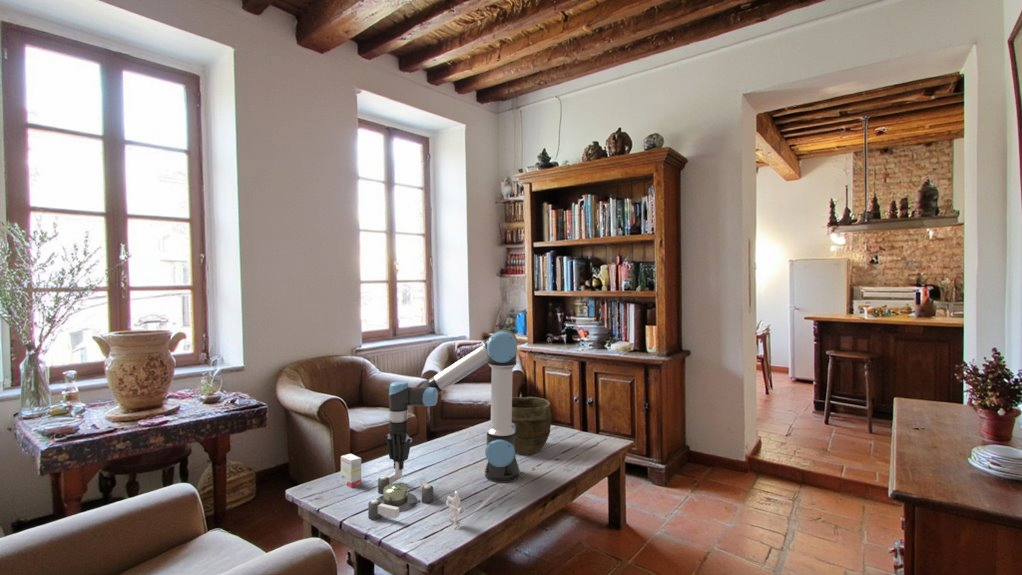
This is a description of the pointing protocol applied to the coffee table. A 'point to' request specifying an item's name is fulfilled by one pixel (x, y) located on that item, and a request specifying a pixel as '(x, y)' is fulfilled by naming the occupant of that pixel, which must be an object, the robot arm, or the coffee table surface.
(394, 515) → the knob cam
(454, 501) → the figurine
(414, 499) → the base
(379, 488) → the knob far
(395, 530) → the coffee table surface
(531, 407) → the clay pot
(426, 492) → the knob near
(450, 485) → the coffee table surface
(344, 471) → the ink box
